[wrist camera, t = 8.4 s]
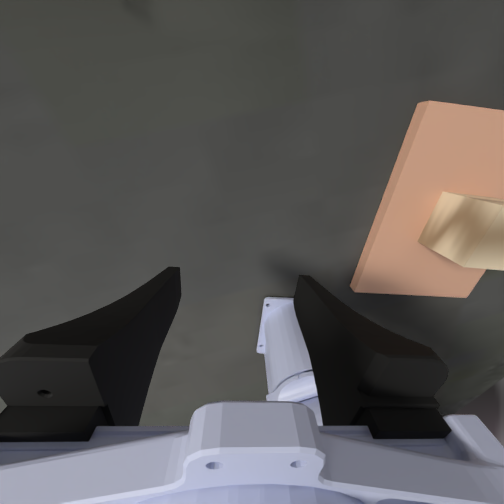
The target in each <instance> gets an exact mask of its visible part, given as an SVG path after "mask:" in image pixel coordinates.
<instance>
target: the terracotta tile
mask: <svg viewBox="0 0 504 504" xmlns="http://www.w3.org/2000/svg"><path fill="white" fill-rule="evenodd" d="M442 192H452V193H460V194H469V195H477V196H486V197H493V198H498V199H503V200H504V111H503V110H496V109H488V108H481V107H473V106H466V105H458V104H451V103H444V102H436V101H426V102H421V103H418V104H417V107H416V109H415V112H414V115H413V117H412V120H411V123H410V125H409V128H408V131H407V134H406V136H405V139H404V142H403V144H402V147H401V150H400V152H399V155H398V158H397V160H396V163H395V166H394V168H393V171H392V174H391V177H390V179H389V182H388V185H387V187H386V190H385V193H384V195H383V198H382V201H381V203H380V206H379V209H378V211H377V214H376V217H375V220H374V222H373V225H372V228H371V230H370V233H369V236H368V238H367V241H366V244H365V246H364V249H363V252H362V254H361V257H360V260H359V263H358V265H357V268H356V271H355V273H354V276H353V279H352V281H351V284H350V287H351V288H352V289H353V291H354V292H361V293H381V294H401V295H421V296H440V297H460V298H467V296H468V295H469V293H470V292H471V291H472V289H473V288H474V286H475V285H476V283H477V282H478V281H479V279H480V278H481V276H482V275H483V273H484V272H485V271H486V269H480V268H468V267H462V266H461V265H459V264H457V263H455V262H453V261H452V260H450V259H448V258H446V257H444V256H442V255H441V254H439V253H437V252H435V251H433V250H432V249H430V248H428V247H426V246H424V245H423V244H421V243H419V242H417V241H418V239H419V237H420V235H421V233H422V231H423V229H424V227H425V225H426V223H427V222H428V220H429V218H430V216H431V214H432V212H433V210H434V208H435V206H436V204H437V202H438V200H439V198H440V196H441V194H442Z"/></svg>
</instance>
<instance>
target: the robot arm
mask: <svg viewBox="0 0 504 504" xmlns="http://www.w3.org/2000/svg"><path fill="white" fill-rule="evenodd" d="M180 298H181V280H180V267H168V268H166V269H165V270H164V271H162V272H161V273H159V274H158V275H157V276H155V277H154V278H153V279H151V280H150V281H148V282H147V283H145V284H144V285H142V286H141V287H139V288H138V289H136V290H135V291H133V292H131V293H130V294H128V295H126V296H125V297H123V298H121V299H119V300H117V301H115V302H113V303H111V304H109V305H107V306H105V307H103V308H100V309H98V310H96V311H94V312H92V313H89V314H87V315H84V316H82V317H79V318H76V319H74V320H71V321H68V322H65V323H62V324H59V325H56V326H53V327H50V328H46V329H43V330H40V331H36V332H33V333H29V334H26V335H25V336H24V337H23V338H22V339H20V340H19V341H18V342H17V343H16V344H15V345H14V346H13V347H11V348H10V349H9V350H8V351H7V352H6V353H5V354H4V355H2V356H1V357H0V396H1V398H2V399H3V400H4V402H5V403H6V404H7V407H6V408H5V409H4V410H3V411H2V412H1V414H0V504H504V447H503V446H502V444H501V443H500V442H499V441H498V440H497V439H496V438H495V436H494V435H493V434H492V433H491V432H490V431H489V429H488V428H487V427H486V426H485V425H484V424H483V423H482V421H481V420H480V419H479V418H478V417H477V416H476V415H473V414H450V415H446V416H443V417H442V416H441V415H440V413H439V412H438V411H437V409H436V408H438V407H439V404H438V402H437V401H436V400H435V398H434V397H433V395H434V394H435V393H436V392H437V391H438V389H439V388H440V387H441V386H442V385H443V384H444V382H445V381H446V379H447V377H448V372H449V371H448V367H447V365H446V364H445V363H444V362H443V361H442V360H441V359H440V358H439V357H438V355H437V354H436V353H435V352H434V351H433V350H432V349H431V348H429V347H427V346H424V345H422V344H419V343H417V342H414V341H412V340H409V339H406V338H404V337H402V336H400V335H398V334H395V333H393V332H391V331H389V330H387V329H385V328H383V327H381V326H379V325H377V324H375V323H374V322H372V321H370V320H368V319H366V318H365V317H363V316H361V315H360V314H358V313H357V312H355V311H354V310H352V309H351V308H349V307H348V306H346V305H345V304H344V303H342V302H341V301H340V300H338V299H337V298H336V297H334V296H333V295H332V294H331V293H330V292H328V291H327V290H326V289H325V288H324V287H322V286H321V285H320V284H319V283H318V282H317V281H315V280H314V279H313V278H312V277H310V276H307V275H299V279H298V283H297V287H296V291H295V295H294V298H282V297H266V298H265V299H264V305H263V311H262V318H261V324H260V330H259V337H258V343H257V352H258V353H264V356H265V365H266V374H267V383H268V392H269V394H268V395H267V396H266V398H267V401H217V402H210V403H207V404H205V405H203V406H202V407H200V408H198V409H197V410H195V412H194V414H193V416H192V418H191V421H190V426H138V425H139V422H140V418H141V414H142V410H143V406H144V403H145V399H146V396H147V392H148V388H149V385H150V382H151V378H152V375H153V371H154V368H155V365H156V362H157V359H158V355H159V352H160V350H161V347H162V344H163V342H164V340H165V337H166V335H167V333H168V330H169V328H170V326H171V324H172V321H173V319H174V317H175V314H176V312H177V309H178V306H179V302H180ZM266 304H269V305H266Z"/></svg>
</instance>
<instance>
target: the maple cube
mask: <svg viewBox="0 0 504 504" xmlns="http://www.w3.org/2000/svg"><path fill="white" fill-rule="evenodd" d="M417 242H419V243H421V244H423V245H424V246H426V247H428V248H430V249H432V250H433V251H435V252H437V253H439V254H441V255H442V256H444V257H446V258H448V259H450V260H452V261H453V262H455V263H457V264H459V265H461V266H462V267H468V268H480V269H493V270H504V200H503V199H498V198H493V197H486V196H477V195H469V194H460V193H452V192H442V194H441V196H440V198H439V200H438V202H437V204H436V206H435V208H434V210H433V212H432V214H431V216H430V218H429V220H428V222H427V223H426V225H425V227H424V229H423V231H422V233H421V235H420V237H419V239H418V241H417Z"/></svg>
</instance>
